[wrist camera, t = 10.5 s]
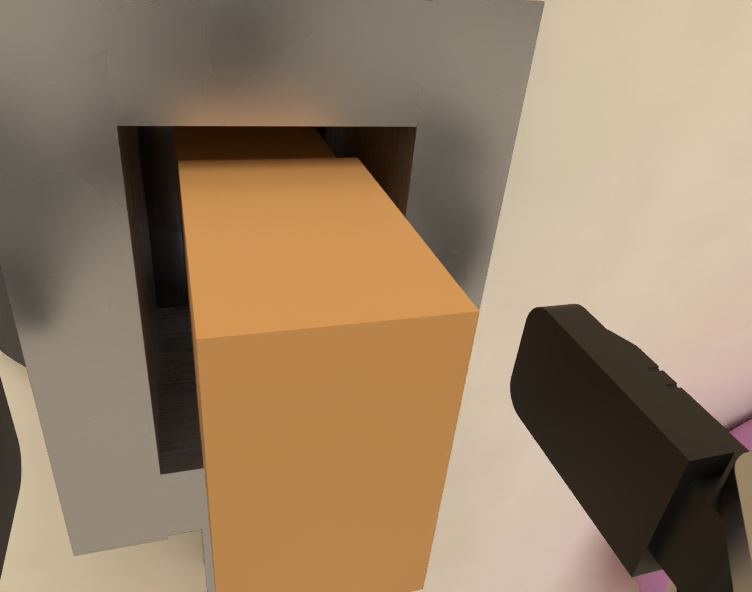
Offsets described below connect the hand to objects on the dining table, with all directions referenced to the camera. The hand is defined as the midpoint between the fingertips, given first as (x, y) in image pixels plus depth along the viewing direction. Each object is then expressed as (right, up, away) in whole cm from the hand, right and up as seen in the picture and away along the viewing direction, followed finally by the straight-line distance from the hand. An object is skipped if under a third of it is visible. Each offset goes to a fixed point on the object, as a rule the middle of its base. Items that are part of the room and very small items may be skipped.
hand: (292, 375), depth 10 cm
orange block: (-2, +4, +6) cm, 8 cm away
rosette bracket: (-3, +1, +10) cm, 10 cm away
